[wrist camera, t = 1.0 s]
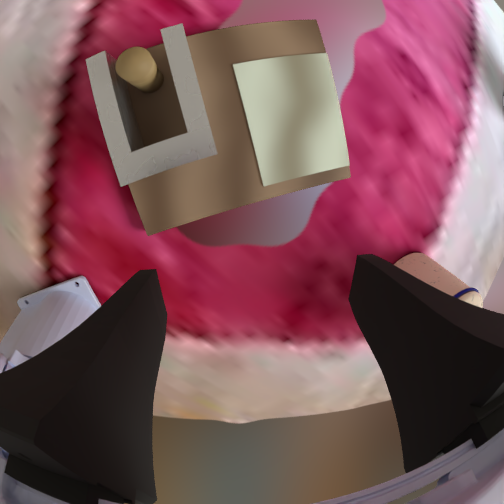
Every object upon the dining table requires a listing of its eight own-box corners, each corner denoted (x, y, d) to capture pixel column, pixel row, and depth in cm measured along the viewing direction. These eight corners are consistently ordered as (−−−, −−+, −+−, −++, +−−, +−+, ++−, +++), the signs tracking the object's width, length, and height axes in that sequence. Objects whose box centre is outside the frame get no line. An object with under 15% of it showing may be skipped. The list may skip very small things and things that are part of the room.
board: (149, 231, 20) (134, 272, 14) (100, 71, 14) (63, 52, 9) (344, 174, 21) (393, 195, 16) (311, 23, 15) (352, -6, 10)
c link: (213, 149, 18) (217, 154, 14) (135, 175, 17) (120, 186, 14) (184, 43, 14) (182, 23, 11) (106, 71, 14) (85, 59, 10)
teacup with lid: (368, 270, 26) (443, 345, 16) (432, 236, 26) (508, 289, 16) (375, 344, 32) (423, 411, 21) (428, 312, 32) (481, 366, 21)
